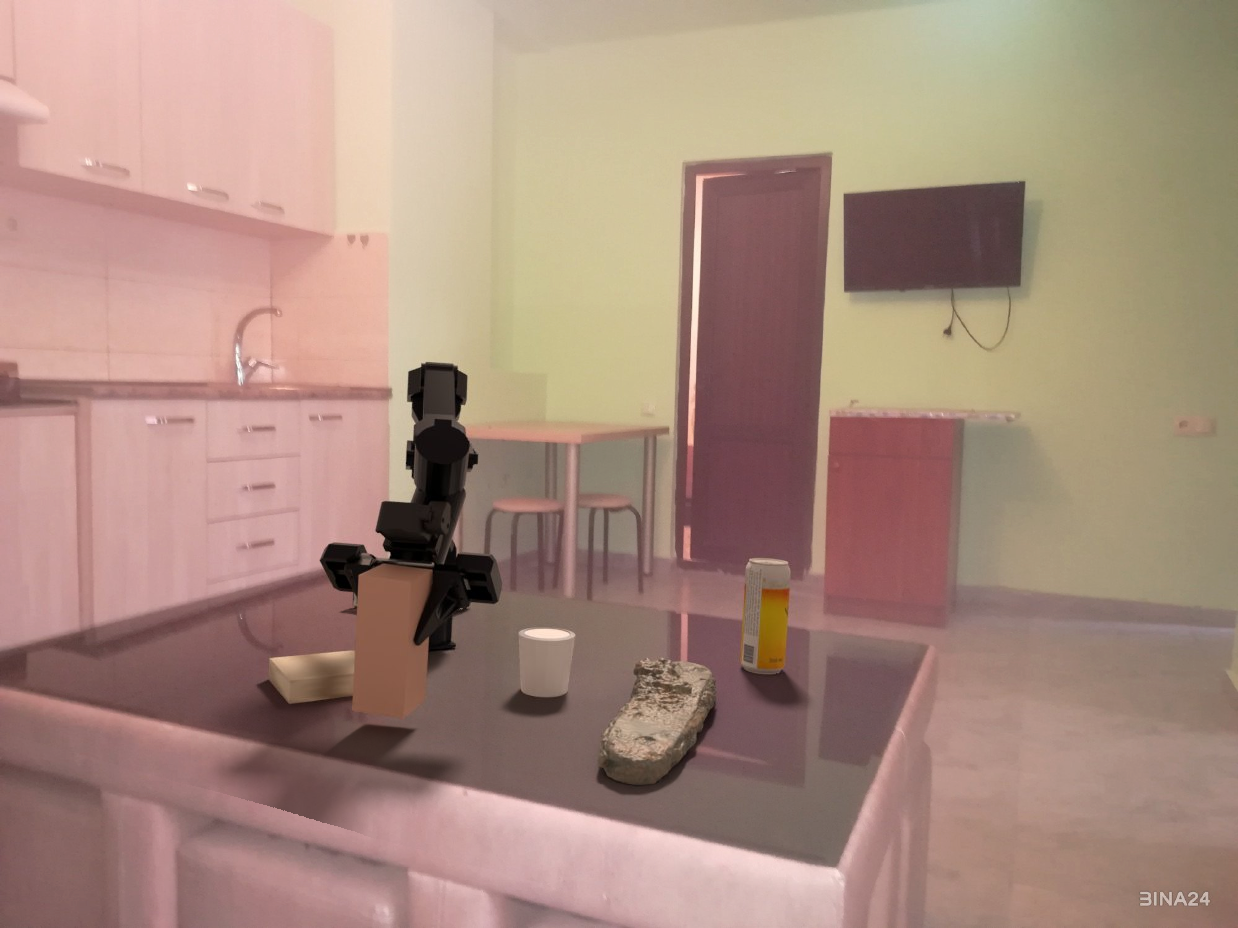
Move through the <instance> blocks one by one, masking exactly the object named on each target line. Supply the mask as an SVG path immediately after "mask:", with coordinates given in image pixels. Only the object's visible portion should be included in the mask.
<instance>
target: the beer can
mask: <svg viewBox="0 0 1238 928" xmlns="http://www.w3.org/2000/svg"><path fill="white" fill-rule="evenodd" d="M748 560H749V561H748V562H747V564H746V566H745V573H744V575H745V576H744V589H743V591H744V593H743V609H742V621H741V622H742V624H741V625H742V626H741V637H740V638H741V643H740V656H739V657H740V658H739V662H740V664H741V665H742V666H743V669H744V670H745V671H747V672H750V673H753V674H758V675H777V674H779V673H781V670H782V669H783V668H784V667H786V651H787V635H788V622H789V621H788V619H789V605H790V604H789V602H790V591H791V589H790V588H791V572H792V570H791V568H790V565H789V562H788V561H786V560H783V559H777V558H770V557H769V558H767V557H766V558H765V557H753V558H749V559H748ZM776 673H777V674H776Z"/></svg>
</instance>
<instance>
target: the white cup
mask: <svg viewBox="0 0 1238 928" xmlns="http://www.w3.org/2000/svg"><path fill="white" fill-rule="evenodd" d="M575 641H576V634H575V633H574V632H573V631H570V630H568V629H565V628H560V627H559V628H558V627H545V626H544V627H540V626H539V627H538V626H537V627H530V628H529V627H528V628H524V629H521V630H520V631H519V632H518V651H519V652H518V655H519V658H518V659H519V676H520V690H521V691H520V692H522V693H523V694H525V695H527V696H533V697H536V698H537V697H538V698H555V697H561V696H564V695H566V694H567V692H568V689H569V683H570V676H571V675H570V674H571V669H572V663H573V662H572V661H573V654H574V647H575V643H576V642H575Z"/></svg>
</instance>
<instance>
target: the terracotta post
mask: <svg viewBox="0 0 1238 928" xmlns="http://www.w3.org/2000/svg"><path fill="white" fill-rule="evenodd" d="M432 575H433V570H430V569H422V568H414V567H406V566H398V565H390V564H382V565H379V566H377V567H375V568H373V569H371V570H368V571H366V572H364V573H362V574H360V575H359V580H358V601H357V607H356V622H355V623H356V625H355V648H354V651H355V663H354V683H353V696H352V704H351V705H352V709H351V711H353V712H357V713H364V714H371V715H376V716H381V717H382V716H384V717H389V718H395V719H401V720H404V719H405V718H406V717H407V716H408V715H409V714H411V713H412V712H413V711H414V710H415V709H417V707H418V706H420V705H421V704H422V703H424V701H426V695H427V694H426V693H427V677H428V675H427V674H428V662H429V661H428V660H429V659H428V658H429V650H428V644H429V637H428V638H427V639H426V640H425V641H424V642H423V643H422V644H421V645H420V646H416V645H415V643H414V637H415V633H416V629H417V626H418V623H419V621H420V618H421V616H422V613H423V611H424V608H425V606H426V603H427V601H428V598H429V596H430V593H431V589H432Z"/></svg>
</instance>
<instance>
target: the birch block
mask: <svg viewBox="0 0 1238 928" xmlns="http://www.w3.org/2000/svg"><path fill="white" fill-rule="evenodd" d="M268 661H269V662H268V664H269V665H268V681H269V682H270V683H271V684H272V685H273V687H274V688H275V689H276V690H277V692H278V693H280V695H281V696H282V697H283V698H284V699H285V701H286V702H287V703H288V704H289V705H292V704H299V703H300V704H301V703H307V702H314V701H316V702H317V701H321V700H331V699H338V698H339V699H340V698H347V697H353V683H354V663H355V649H354V650H342V651H332V652H330V651H329V652H322V653H321V652H320V653H310V654H301V655H299V654H298V655H291V656H290V655H289V656H288V655H287V656H278V657H269V660H268Z"/></svg>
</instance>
